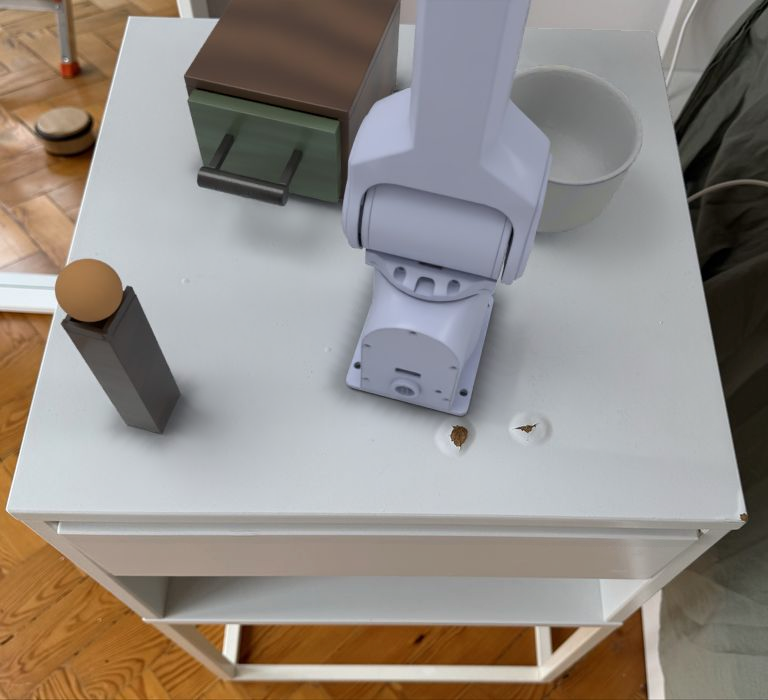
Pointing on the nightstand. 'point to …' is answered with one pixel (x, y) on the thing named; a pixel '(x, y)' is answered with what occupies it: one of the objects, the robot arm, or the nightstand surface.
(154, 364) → the stand
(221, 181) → the drawer
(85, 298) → the ball
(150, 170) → the nightstand surface
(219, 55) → the cabinet
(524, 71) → the teacup
